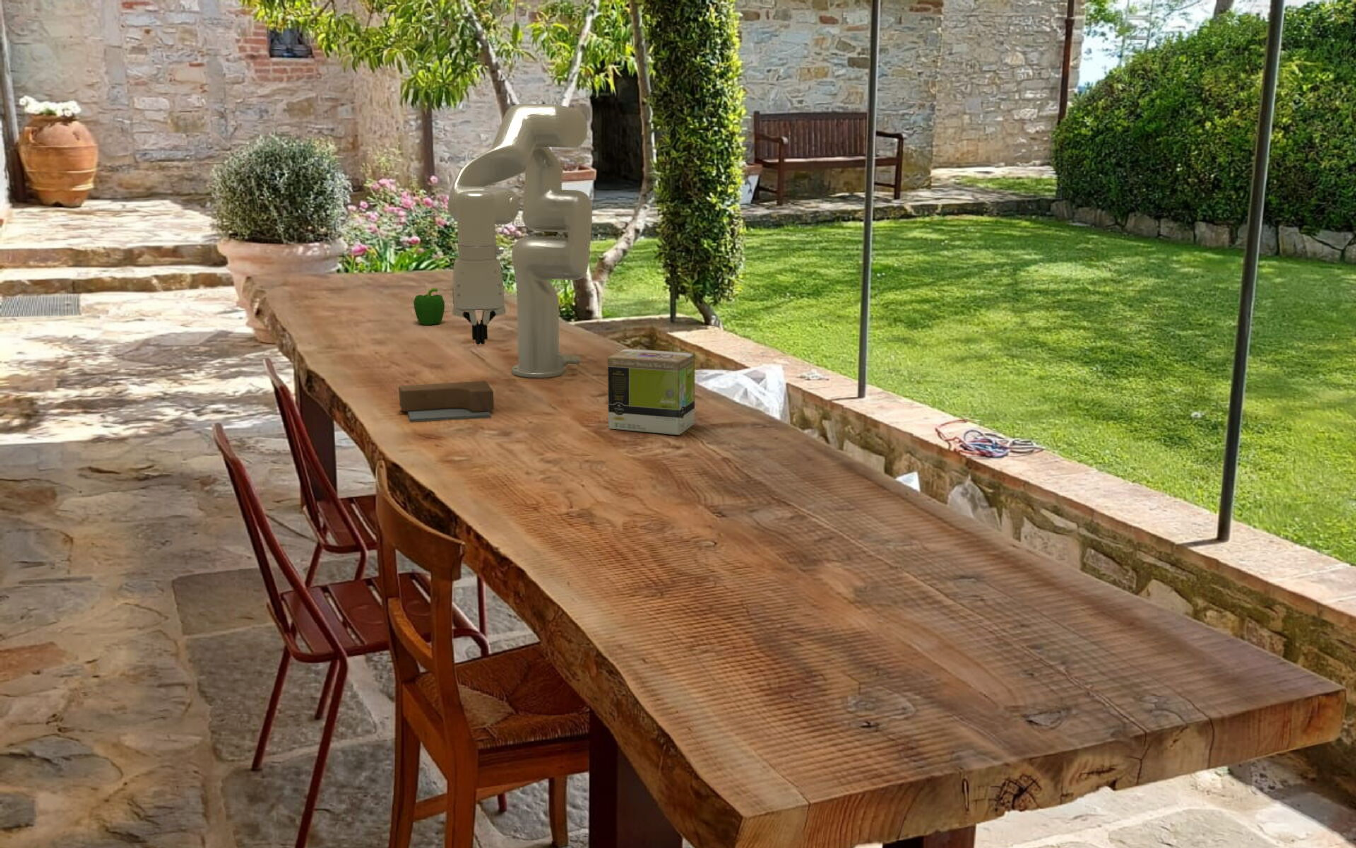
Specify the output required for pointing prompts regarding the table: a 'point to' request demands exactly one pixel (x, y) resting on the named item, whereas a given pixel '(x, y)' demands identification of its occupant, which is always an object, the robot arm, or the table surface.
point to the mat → (446, 414)
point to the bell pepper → (429, 308)
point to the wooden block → (447, 396)
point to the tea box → (651, 391)
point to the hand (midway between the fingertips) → (480, 343)
